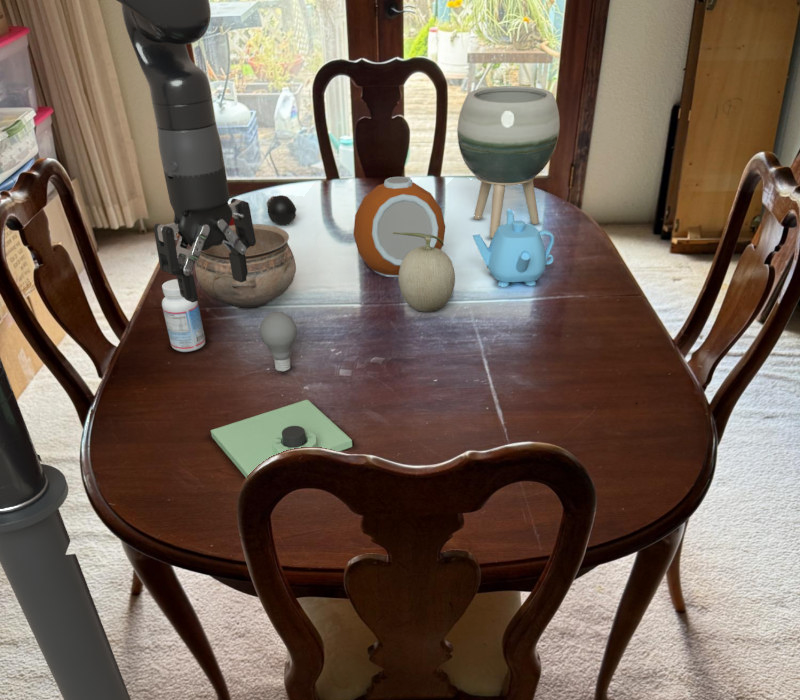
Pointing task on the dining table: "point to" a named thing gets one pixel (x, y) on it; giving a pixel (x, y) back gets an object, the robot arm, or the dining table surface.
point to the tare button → (293, 436)
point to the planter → (507, 142)
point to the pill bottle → (182, 319)
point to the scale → (277, 434)
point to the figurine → (281, 210)
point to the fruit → (426, 276)
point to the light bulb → (279, 337)
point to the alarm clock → (396, 224)
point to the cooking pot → (249, 270)
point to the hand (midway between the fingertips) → (216, 290)
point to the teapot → (516, 252)
